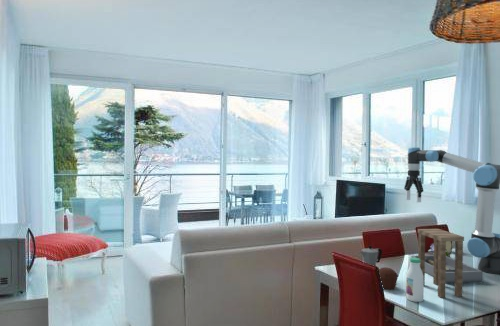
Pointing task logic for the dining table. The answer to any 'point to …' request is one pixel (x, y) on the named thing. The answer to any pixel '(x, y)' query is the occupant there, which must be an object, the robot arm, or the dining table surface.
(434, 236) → the stool
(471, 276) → the tray
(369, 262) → the coffeepot
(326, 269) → the dining table surface
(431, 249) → the passion flower
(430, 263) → the hand shovel
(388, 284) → the muffin
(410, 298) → the milk bottle
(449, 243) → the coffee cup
